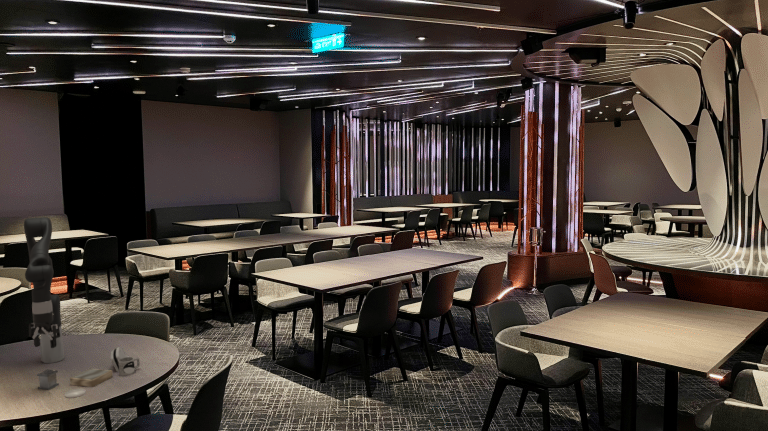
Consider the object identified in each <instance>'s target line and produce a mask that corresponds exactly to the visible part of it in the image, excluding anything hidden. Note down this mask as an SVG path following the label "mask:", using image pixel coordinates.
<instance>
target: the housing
mask: <svg viewBox="0 0 768 431" xmlns="http://www.w3.org/2000/svg"><path fill="white" fill-rule="evenodd" d="M57 373H58V369H45V370H43V371H39V372H38V373H36V376H37V377H38V379H39V380H38V383H39V386H38V387H37V389H38V390H43V391H44V390H46V391H50V390H52V389H54V388H56V387H58V386H59V383H57Z"/></svg>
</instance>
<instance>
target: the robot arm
mask: <svg viewBox="0 0 768 431" xmlns="http://www.w3.org/2000/svg"><path fill="white" fill-rule="evenodd" d="M23 229H24V234H25V240H26V244H27V250H28V258H29V263H28V266H27V267H26V269H25V271H24V272H25V273H24V277H25V280H26V281H27V282H28V283H31V284H32V285H33V286H32V290H31V301H32V304H31V308H32V321H33V322H31V323H29V324H28V336H29V338H32V339H33V345H34V347H35V348H38V347H39V351H40V353H39V354H40V361H41V362H42V363H45V364H53V363H58V362H60V361H63V360H64V359H65V357H64V356H65V355H64V341H63V329H62V316H61V298H60V296H59V294H52V293H51V288H52V282H53V278H54V273H55V272H54V271H55V270H54V268H53V267H54V266H53V260H52V258H51V256H50V255H49V254H50V253H49V252H50V244H51V242H52V241H51V240H52V234H53V225H52V221H51V218H50V217H43V216H42V217H30V218H26V219H25V220H24V222H23ZM35 238H40V239H39V240H38V241H36V239H35Z"/></svg>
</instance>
